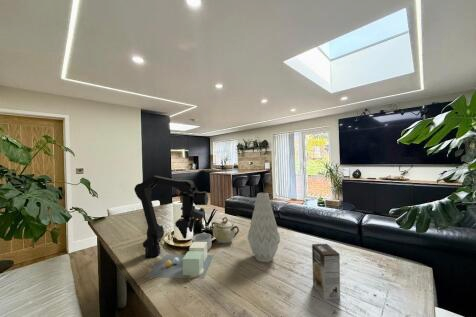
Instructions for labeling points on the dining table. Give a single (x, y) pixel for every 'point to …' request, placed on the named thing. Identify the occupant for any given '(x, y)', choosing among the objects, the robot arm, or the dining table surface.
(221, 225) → the sugar bowl
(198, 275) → the tan flat disc
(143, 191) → the robot arm
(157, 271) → the slate board
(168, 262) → the amber marble
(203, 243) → the ivory cube
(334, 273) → the coffee box
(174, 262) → the pale blue marble
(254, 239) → the vase
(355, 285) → the dining table surface
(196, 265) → the frosted jade cube
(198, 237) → the teacup
